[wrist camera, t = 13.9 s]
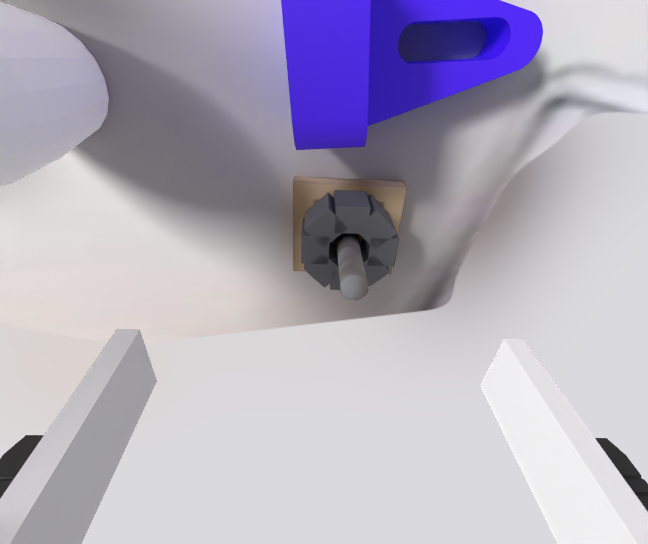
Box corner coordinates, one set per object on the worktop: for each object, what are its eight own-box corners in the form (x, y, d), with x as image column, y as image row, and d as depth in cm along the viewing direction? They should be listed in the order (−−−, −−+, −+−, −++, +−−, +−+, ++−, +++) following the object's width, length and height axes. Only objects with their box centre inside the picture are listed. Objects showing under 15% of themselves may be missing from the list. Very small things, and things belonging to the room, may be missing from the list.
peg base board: (294, 261, 39) (286, 333, 29) (294, 176, 34) (283, 230, 24) (387, 264, 40) (411, 336, 30) (402, 181, 34) (436, 235, 24)
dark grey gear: (303, 188, 32) (301, 204, 29) (395, 192, 33) (404, 208, 29) (302, 267, 37) (300, 288, 34) (382, 269, 38) (389, 291, 34)
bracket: (302, 123, 31) (295, 157, 22) (291, -32, 25) (273, -84, 16) (497, 113, 31) (579, 143, 21) (532, -46, 25) (669, -108, 15)
